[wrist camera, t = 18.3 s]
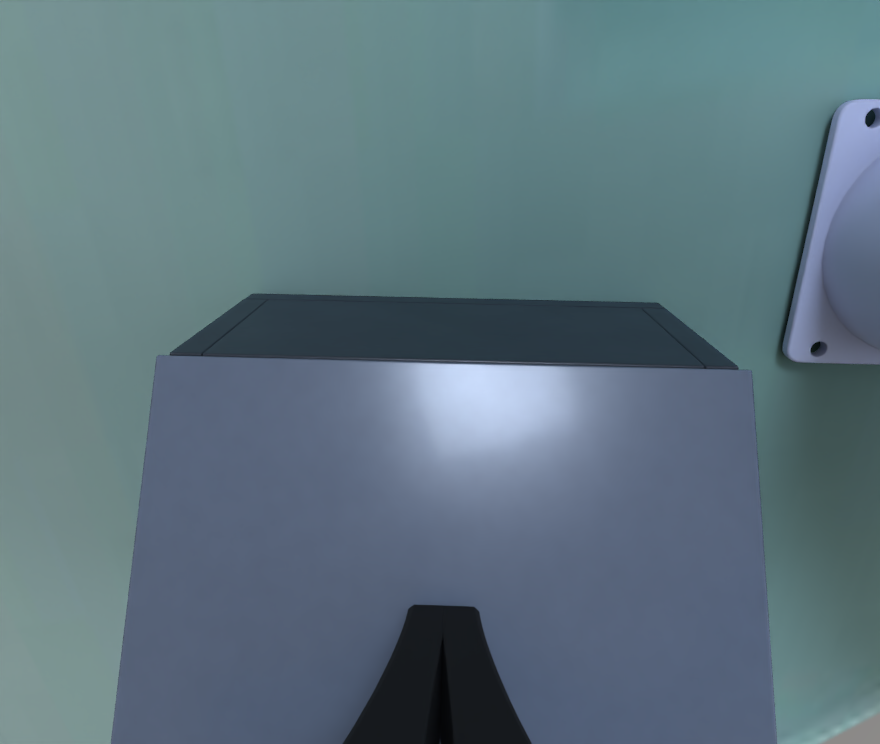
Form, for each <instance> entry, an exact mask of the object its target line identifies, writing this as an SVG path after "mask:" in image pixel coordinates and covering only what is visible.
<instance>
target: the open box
mask: <svg viewBox="0 0 880 744" xmlns="http://www.w3.org/2000/svg"><path fill="white" fill-rule="evenodd" d="M170 356H210V357H250V358H290V359H330V360H371V361H411V362H451V363H491V364H532V365H572V366H612V367H652V368H693V369H733V370H738V369H739V368H738V366H737V365H735V364H734V363H733V362H732V361H730V360H729V359H728V358H727V357H725V356H724V355H723V354H722V353H720V352H719V351H718V350H717V349H715V348H714V347H713V346H712V345H710V344H709V343H708V342H707V341H705V340H704V339H703V338H702V337H700V336H699V335H698V334H697V333H695V332H694V331H693V330H692V329H690V328H689V327H688V326H687V325H685V324H684V323H683V322H682V321H680V320H679V319H678V318H677V317H675V316H674V315H673V314H672V313H670V312H669V311H668V310H667V309H665V308H664V307H662V306H661V305H660V304H659V303H642V302H598V301H554V300H509V299H465V298H421V297H377V296H332V295H288V294H251V295H250V296H248V297H247V298H246V299H244V300H242V301H241V302H240V303H238V304H237V305H235V306H234V307H233V308H231V309H230V310H228V311H227V312H226V313H224V314H223V315H222V316H220V317H219V318H217V319H216V320H215V321H213V322H212V323H210V324H209V325H208V326H206V327H205V328H204V329H202V330H201V331H199V332H198V333H197V334H195V335H194V336H193V337H191V338H190V339H188V340H187V341H186V342H184V343H183V344H181V345H180V346H179V347H177V348H176V349H175V350H173V351H172V352H170Z"/></svg>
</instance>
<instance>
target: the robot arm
mask: <svg viewBox="0 0 880 744" xmlns="http://www.w3.org/2000/svg"><path fill="white" fill-rule="evenodd" d="M871 110H873V111H874V113H875V120H874V123H873V124H872V125H871V126H870V127H867V125H866V124H865V117H866V115H867V113H868V112H869V111H871ZM819 341H820V347H819V349H818V350H817V351H816V352H813V353H811V351H810V349H811V347H812V345H813V344H814V343H816V342H819ZM783 352H784V355H785V356H787V357H788V358H789V359H791V360H792V361H794V362H799V363H836V364H877V365H880V99H857V100H850V101H846V102H845V103H843V104H841V105H840V106H839V107H838V109H837V110H836V111H835V113H834V116H833V118H832V123H831V127H830V132H829V136H828V141H827V145H826V150H825V155H824V159H823V164H822V168H821V173H820V177H819V182H818V186H817V191H816V196H815V200H814V205H813V209H812V214H811V218H810V223H809V227H808V232H807V236H806V241H805V246H804V250H803V255H802V259H801V264H800V268H799V273H798V277H797V282H796V287H795V291H794V296H793V300H792V305H791V309H790V314H789V318H788V323H787V327H786V332H785V337H784V341H783ZM440 741H441V744H532V743H531V741H530V739H529V737H528V735H527V733H526V731H525V729H524V728H523V726H522V724H521V722H520V720H519V718H518V716H517V714H516V712H515V709H514V707H513V705H512V703H511V701H510V699H509V697H508V694H507V692H506V690H505V687H504V685H503V683H502V680H501V678H500V676H499V674H498V671H497V668H496V666H495V663H494V661H493V658H492V655H491V652H490V650H489V647H488V644H487V641H486V638H485V634H484V631H483V627H482V623H481V618H480V612H479V611H478V610H477V609H476V608H475V607H471V606H443V605H415V604H414V605H413V606H411V607H410V608H409V609H408V612H407V616H406V620H405V623H404V626H403V629H402V631H401V634H400V637H399V639H398V642H397V644H396V646H395V649H394V651H393V653H392V655H391V658H390V660H389V662H388V664H387V666H386V668H385V670H384V672H383V674H382V676H381V678H380V680H379V682H378V684H377V686H376V688H375V690H374V692H373V694H372V695H371V697H370V699H369V700H368V702H367V704H366V706H365V707H364V709H363V711H362V713H361V714H360V716H359V718H358V720H357V721H356V723H355V725H354V726H353V728H352V730H351V731H350V733H349V734H348V736H347V738H346V739H345V741H344V742H343V744H439V743H440Z"/></svg>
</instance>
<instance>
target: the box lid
mask: <svg viewBox="0 0 880 744" xmlns="http://www.w3.org/2000/svg"><path fill="white" fill-rule="evenodd" d="M414 604H415V605H443V606H471V607H475V608H476V609H477V610H478V611H479V612H480V618H481V623H482V627H483V631H484V634H485V638H486V641H487V644H488V647H489V650H490V652H491V655H492V658H493V661H494V663H495V666H496V668H497V671H498V674H499V676H500V678H501V680H502V683H503V685H504V687H505V690H506V692H507V694H508V697H509V699H510V701H511V703H512V705H513V707H514V709H515V712H516V714H517V716H518V718H519V720H520V722H521V724H522V726H523V728H524V729H525V731H526V733H527V735H528V737H529V739H530V741H531V743H532V744H777V733H776V718H775V704H774V689H773V674H772V659H771V645H770V630H769V615H768V600H767V586H766V571H765V556H764V541H763V527H762V512H761V497H760V482H759V468H758V453H757V438H756V423H755V409H754V394H753V379H752V371H751V370H733V369H693V368H652V367H612V366H572V365H532V364H491V363H451V362H411V361H371V360H330V359H290V358H250V357H210V356H170V355H158V356H157V357H156V366H155V374H154V382H153V391H152V399H151V408H150V416H149V425H148V433H147V442H146V450H145V459H144V467H143V475H142V484H141V492H140V501H139V509H138V518H137V526H136V535H135V543H134V552H133V560H132V568H131V577H130V585H129V594H128V602H127V611H126V619H125V628H124V636H123V645H122V653H121V661H120V670H119V678H118V687H117V695H116V704H115V712H114V721H113V729H112V738H111V744H343V742H344V741H345V739H346V738H347V736H348V734H349V733H350V731H351V730H352V728H353V726H354V725H355V723H356V721H357V720H358V718H359V716H360V714H361V713H362V711H363V709H364V707H365V706H366V704H367V702H368V700H369V699H370V697H371V695H372V694H373V692H374V690H375V688H376V686H377V684H378V682H379V680H380V678H381V676H382V674H383V672H384V670H385V668H386V666H387V664H388V662H389V660H390V658H391V655H392V653H393V651H394V649H395V646H396V644H397V642H398V639H399V637H400V634H401V631H402V629H403V626H404V623H405V620H406V616H407V612H408V609H409V608H410V607H411V606H413V605H414ZM439 744H441V741H440V743H439Z"/></svg>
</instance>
